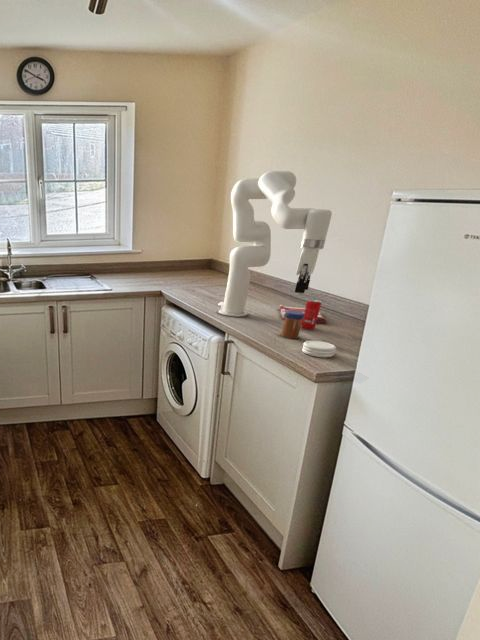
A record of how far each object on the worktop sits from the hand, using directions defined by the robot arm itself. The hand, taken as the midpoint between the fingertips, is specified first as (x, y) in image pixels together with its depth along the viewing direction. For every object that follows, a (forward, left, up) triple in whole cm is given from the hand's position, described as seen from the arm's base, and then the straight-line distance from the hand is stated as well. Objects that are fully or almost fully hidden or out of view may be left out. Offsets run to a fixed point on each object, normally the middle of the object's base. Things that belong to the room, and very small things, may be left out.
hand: (301, 290), depth 177 cm
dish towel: (-22, +34, -19) cm, 45 cm away
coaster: (+19, -9, -19) cm, 28 cm away
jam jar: (0, 0, -19) cm, 19 cm away
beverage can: (-6, +18, -19) cm, 27 cm away
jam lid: (0, 0, -9) cm, 9 cm away
